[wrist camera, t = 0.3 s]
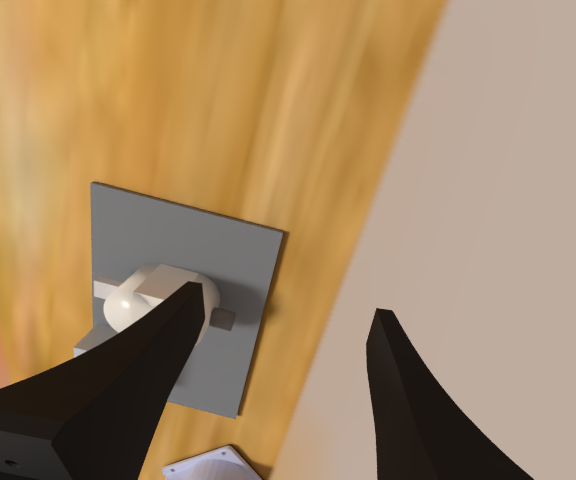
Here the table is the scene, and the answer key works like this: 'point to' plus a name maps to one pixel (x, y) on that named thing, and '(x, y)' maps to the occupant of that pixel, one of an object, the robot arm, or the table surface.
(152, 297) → the plug
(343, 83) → the table surface
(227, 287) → the mat
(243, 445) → the table surface
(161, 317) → the robot arm
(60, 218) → the table surface
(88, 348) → the block
